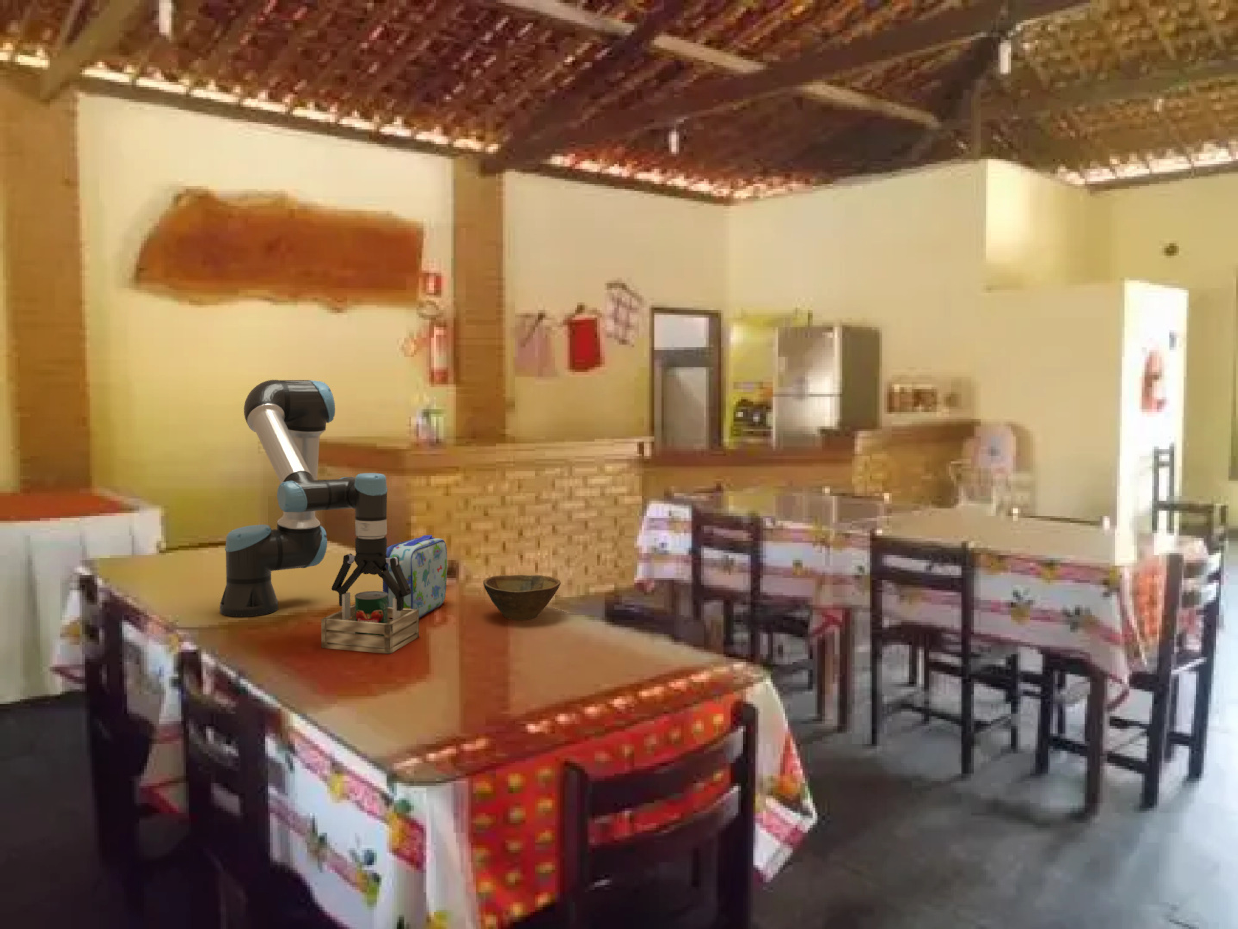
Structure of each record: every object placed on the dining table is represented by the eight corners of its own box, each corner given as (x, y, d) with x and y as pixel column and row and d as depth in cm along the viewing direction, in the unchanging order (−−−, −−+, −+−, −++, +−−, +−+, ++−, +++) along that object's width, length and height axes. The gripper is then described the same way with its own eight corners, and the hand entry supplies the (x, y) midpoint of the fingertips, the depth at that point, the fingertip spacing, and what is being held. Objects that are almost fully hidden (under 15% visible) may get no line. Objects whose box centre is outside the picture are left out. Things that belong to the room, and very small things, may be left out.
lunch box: (416, 600, 280) (417, 530, 278) (451, 602, 278) (451, 532, 276) (377, 621, 255) (377, 544, 253) (414, 624, 253) (414, 546, 251)
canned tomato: (358, 643, 229) (358, 599, 228) (351, 635, 236) (351, 592, 235) (391, 640, 233) (391, 596, 232) (383, 632, 240) (383, 589, 239)
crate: (321, 647, 229) (321, 619, 228) (354, 631, 244) (354, 604, 244) (389, 653, 225) (389, 625, 224) (418, 636, 240) (418, 609, 240)
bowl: (575, 612, 269) (576, 577, 268) (535, 630, 249) (535, 593, 248) (509, 603, 278) (510, 570, 278) (465, 620, 258) (465, 584, 257)
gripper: (317, 535, 231) (317, 621, 233) (411, 541, 226) (411, 629, 228) (332, 531, 239) (333, 614, 241) (424, 536, 233) (424, 621, 235)
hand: (371, 621), depth 234 cm, fingers open, 13 cm apart
